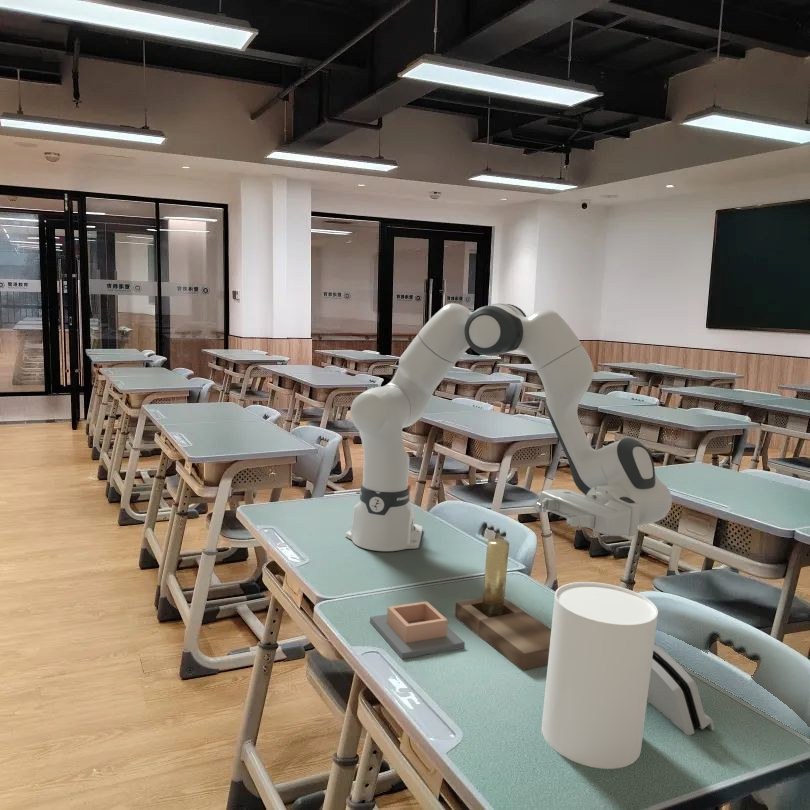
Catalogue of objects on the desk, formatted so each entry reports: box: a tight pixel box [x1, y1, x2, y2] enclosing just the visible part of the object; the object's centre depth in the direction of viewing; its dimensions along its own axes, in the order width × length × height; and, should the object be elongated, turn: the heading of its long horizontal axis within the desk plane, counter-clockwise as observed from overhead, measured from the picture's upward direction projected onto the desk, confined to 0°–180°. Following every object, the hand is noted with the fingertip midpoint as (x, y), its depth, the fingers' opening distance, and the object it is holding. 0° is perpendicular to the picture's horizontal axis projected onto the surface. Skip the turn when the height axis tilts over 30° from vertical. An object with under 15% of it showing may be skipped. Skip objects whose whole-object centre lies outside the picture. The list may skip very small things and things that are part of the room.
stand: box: [369, 601, 466, 660], centre depth 123 cm, size 14×12×4 cm
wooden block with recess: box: [454, 596, 551, 671], centre depth 124 cm, size 21×10×3 cm, turn 28°
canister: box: [541, 581, 659, 770], centre depth 95 cm, size 14×14×20 cm
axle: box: [482, 538, 510, 618], centre depth 128 cm, size 4×4×16 cm
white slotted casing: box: [647, 643, 715, 736], centre depth 106 cm, size 17×5×10 cm, turn 17°
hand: (552, 514), depth 132 cm, fingers open, 8 cm apart
